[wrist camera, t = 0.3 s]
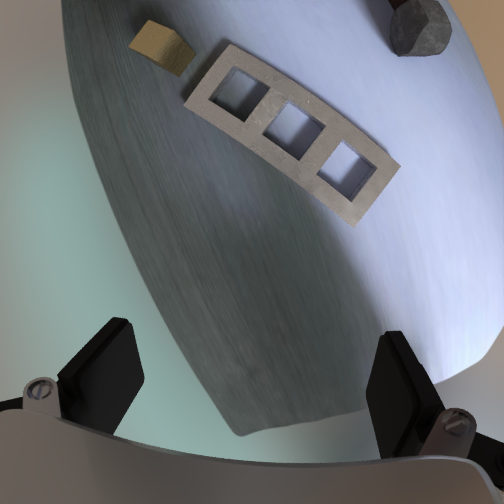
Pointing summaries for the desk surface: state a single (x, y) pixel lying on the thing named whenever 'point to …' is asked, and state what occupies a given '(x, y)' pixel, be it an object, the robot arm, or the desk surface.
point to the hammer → (419, 27)
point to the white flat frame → (299, 171)
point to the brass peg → (163, 47)
